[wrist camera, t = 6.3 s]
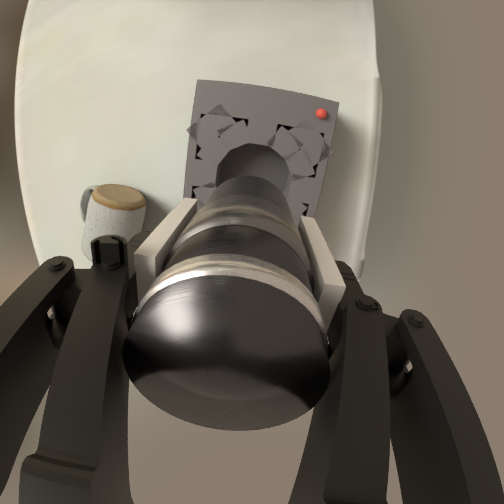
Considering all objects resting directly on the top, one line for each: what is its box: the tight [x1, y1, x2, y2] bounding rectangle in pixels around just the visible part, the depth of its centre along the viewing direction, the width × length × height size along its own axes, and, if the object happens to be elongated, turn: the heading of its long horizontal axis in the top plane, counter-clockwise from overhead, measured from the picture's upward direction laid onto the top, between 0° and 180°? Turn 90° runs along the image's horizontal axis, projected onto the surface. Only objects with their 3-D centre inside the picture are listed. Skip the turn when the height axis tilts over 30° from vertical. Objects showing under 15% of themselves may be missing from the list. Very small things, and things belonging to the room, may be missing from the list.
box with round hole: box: [183, 80, 339, 228], centre depth 28 cm, size 18×14×7 cm
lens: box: [122, 175, 330, 431], centre depth 12 cm, size 6×6×12 cm
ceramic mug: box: [80, 184, 146, 262], centre depth 30 cm, size 11×8×8 cm
